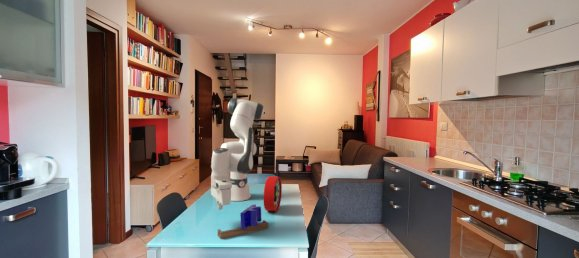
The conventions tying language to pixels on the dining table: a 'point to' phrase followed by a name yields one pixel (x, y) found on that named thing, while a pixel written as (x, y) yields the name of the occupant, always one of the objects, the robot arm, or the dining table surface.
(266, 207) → the red hockey puck
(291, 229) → the dining table surface
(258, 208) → the mounting bracket
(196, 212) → the dining table surface
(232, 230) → the handle
